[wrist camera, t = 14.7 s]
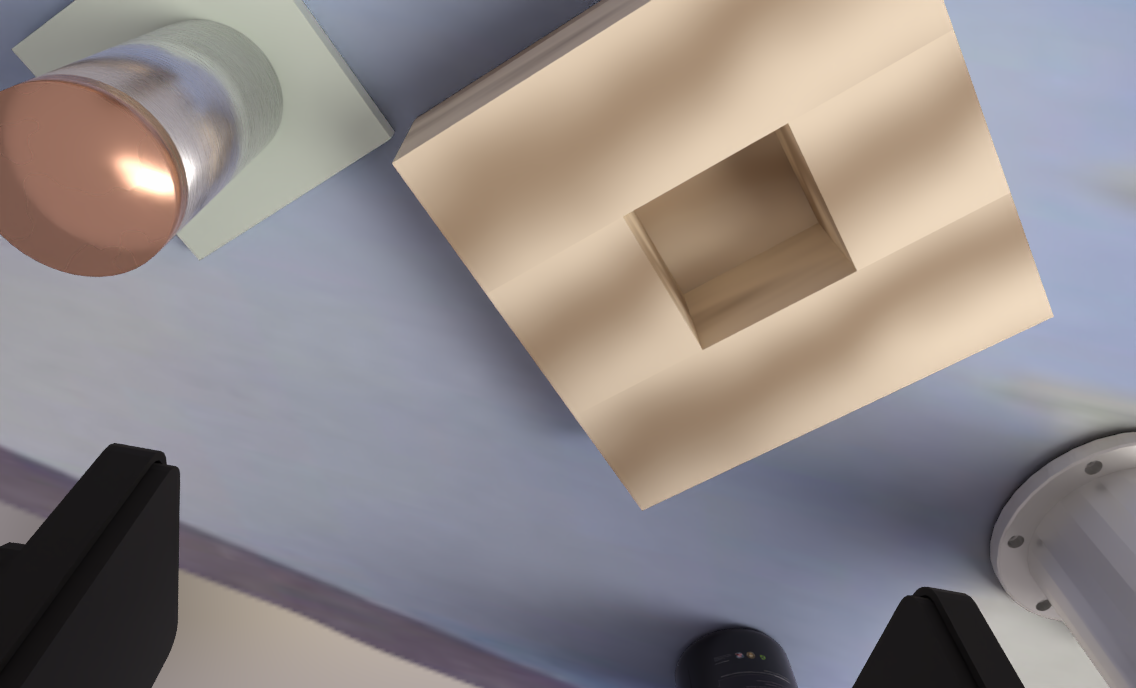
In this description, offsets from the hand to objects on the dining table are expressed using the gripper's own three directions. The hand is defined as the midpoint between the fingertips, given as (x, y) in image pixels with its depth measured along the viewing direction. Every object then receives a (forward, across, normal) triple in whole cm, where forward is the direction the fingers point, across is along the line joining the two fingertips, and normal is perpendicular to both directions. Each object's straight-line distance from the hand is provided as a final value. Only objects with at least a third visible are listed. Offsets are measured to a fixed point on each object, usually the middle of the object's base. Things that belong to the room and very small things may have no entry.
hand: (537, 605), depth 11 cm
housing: (+27, -7, +1) cm, 28 cm away
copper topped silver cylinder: (+25, +13, +2) cm, 28 cm away
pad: (+26, +13, +2) cm, 29 cm away
